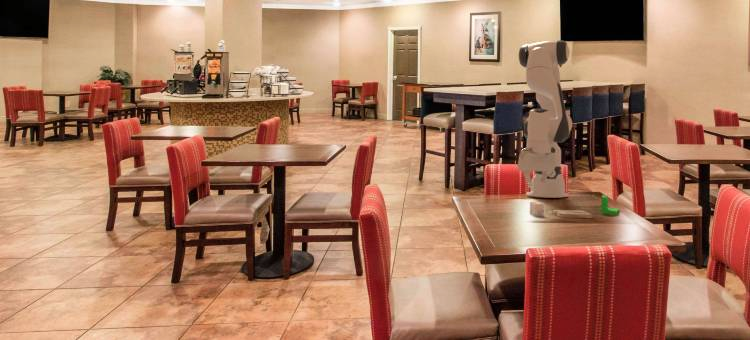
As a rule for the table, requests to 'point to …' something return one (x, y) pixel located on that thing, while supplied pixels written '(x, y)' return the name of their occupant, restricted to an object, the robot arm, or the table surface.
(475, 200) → the table surface
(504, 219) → the table surface
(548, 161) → the robot arm
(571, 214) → the birch board
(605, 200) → the mechanical part
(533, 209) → the connector
